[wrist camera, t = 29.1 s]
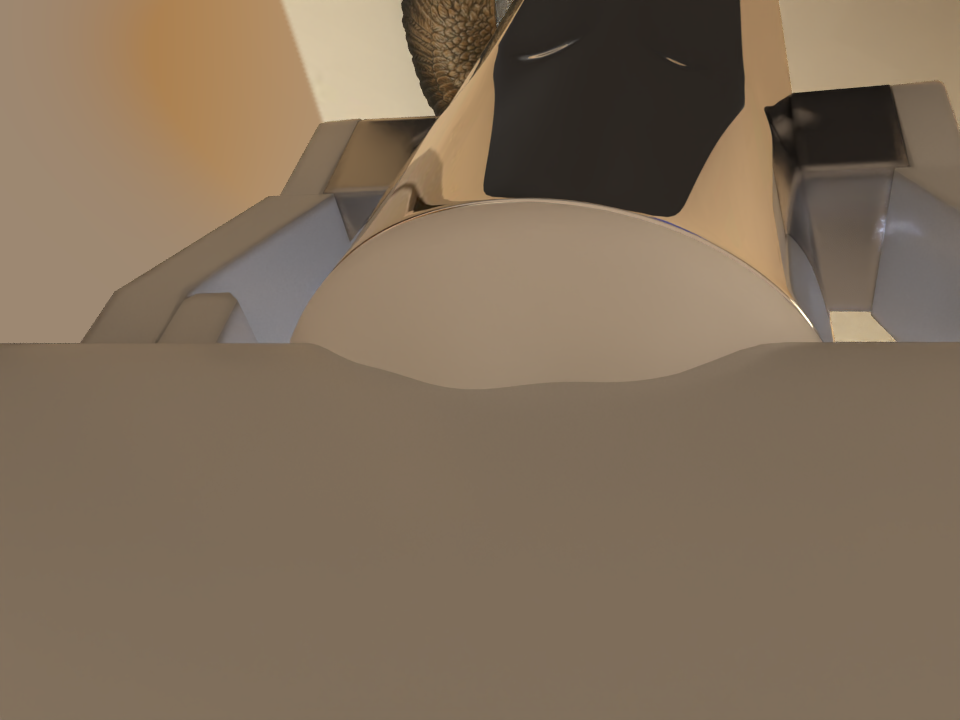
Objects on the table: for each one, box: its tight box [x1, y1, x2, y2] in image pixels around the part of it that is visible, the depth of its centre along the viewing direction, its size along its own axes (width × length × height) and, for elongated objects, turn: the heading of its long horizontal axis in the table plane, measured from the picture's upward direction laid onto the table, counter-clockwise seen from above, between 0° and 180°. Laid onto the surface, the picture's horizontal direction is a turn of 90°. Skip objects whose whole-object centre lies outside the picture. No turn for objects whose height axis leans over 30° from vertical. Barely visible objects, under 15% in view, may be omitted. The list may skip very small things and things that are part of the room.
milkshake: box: [290, 0, 835, 389], centre depth 10 cm, size 4×5×10 cm
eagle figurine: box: [401, 0, 496, 116], centre depth 31 cm, size 8×7×9 cm
